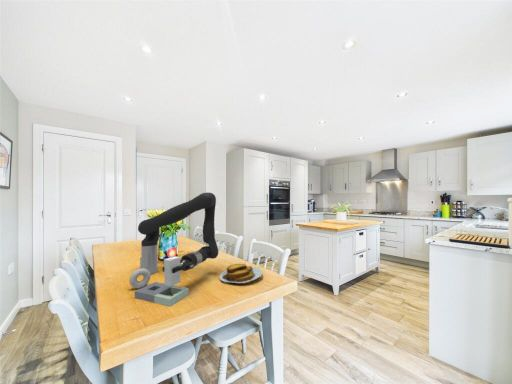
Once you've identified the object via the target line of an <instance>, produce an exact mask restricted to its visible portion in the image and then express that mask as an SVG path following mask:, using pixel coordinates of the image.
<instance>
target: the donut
mask: <svg viewBox="0 0 512 384" xmlns="http://www.w3.org/2000/svg"><path fill="white" fill-rule="evenodd" d="M140 276H143V279H141V280H140V281H138V277H140ZM150 281H151V274H150V272H149V271H148V270H147V269H144V268H141V269H140V268H138V269H136V270H134V271H133V272H132V273H131V275H130V276H129V285H130V286H131V287H132V288H134V289H141V288H143V287H145V286H148V283H149V282H150Z"/></svg>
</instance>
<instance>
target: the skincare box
mask: <svg viewBox="0 0 512 384" xmlns="http://www.w3.org/2000/svg"><path fill="white" fill-rule="evenodd" d="M180 259H181V257H180V256H172V257H168V258H164V259H163V260H164V261H163V262H164V263H163V267H164V272H163V274H164V284H165V285H166V286H172V285H174V286H176V284H180V283H181V282H182V281H181V280H182V279H181V274H182V273H181V271H178V272H176V273H172V268H175V267H177V266H179V265H180Z"/></svg>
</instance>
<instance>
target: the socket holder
mask: <svg viewBox="0 0 512 384" xmlns="http://www.w3.org/2000/svg"><path fill="white" fill-rule="evenodd" d="M189 290H190V289H189V287H183V286H179V285H172V286H166V285H165V283H162V282H158V281H157V282H156V281H154V282H152V283H150V284H147V285H145V286H144V287H142V288H138V289H137V290H134V298H135V299H138V300H142V301H146V302H151V303H153V304H159V305H162V306H166V307H171V306H173V305H174V304H176V303H178V302H180V301H181V300H182V299H184V298H186V297H187V296H189V295H190V294H189ZM171 294H172V295H171ZM170 295H171V296H170Z"/></svg>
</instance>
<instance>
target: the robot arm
mask: <svg viewBox="0 0 512 384" xmlns="http://www.w3.org/2000/svg"><path fill="white" fill-rule="evenodd" d="M216 204H217V197H216V195H215V194H214V193H213V192H202V193H200V194H199V195H197V196H195V197H193V198H192V199H190V200H188V201H186V202H183V203H181V204H177V205H175V206H173V207H171V208H169V209H167V210H165V211H163V212H162V213H159V214H158V215H155V216H153V217H150V218H147V219H144V220H142V221H141V222H140V223H139V224H138V228H137V231H138V232H139V233H140V234H141V235H144V236H145V237H144V238H143V239H142V240H141V245H140V246H141V247H140V249H141V252H140V255H141V256H140V258H139V269H141V268H144V269H147V270H148V271H149V272H150V275H153V274H156V273H158V268H159V267H158V265H159V264H158V256H159V255H158V252H159V250H158V248H159V247H158V243H159V239H160V229H161V228H162V227H166V226H169V225H173V224H175V223H178V222H180V221H183V220H184V219H186V218H188V217H189V216H191V214H193V213H195V212H198V211H201V210H204V220H203V224H202V240H203V243H205V244H207V245H204V246H201V248H199V249H198V250H196V251H192V252H189V253H186V254H184V255H182V256H181V257H180V265H179V266H177V267H175V268H172V273H176V272H178V271H180V272H186V271H188V270H192V269H194V267H197V266H198V265H200V264H202V263H204V262H205V261H206V260H207V259H212V260H213V259H217V258H218V256H219V247H218V244H217V241H216V233H215V232H216V231H215V217H216V216H215V213H216V206H217V205H216ZM162 272H163V273H164V266H162Z"/></svg>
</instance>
